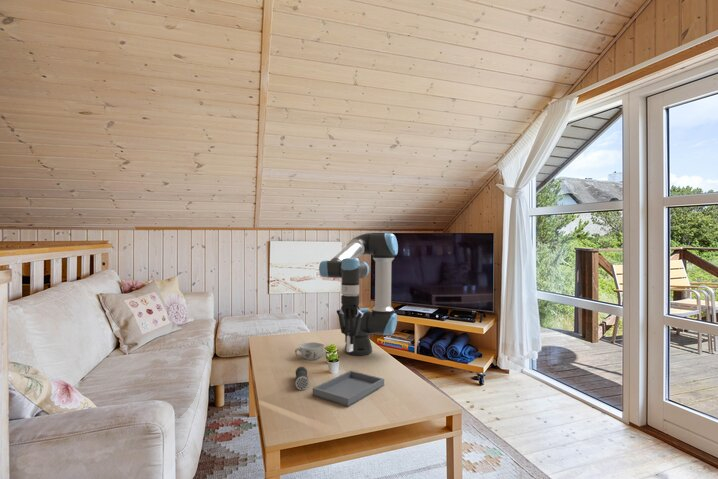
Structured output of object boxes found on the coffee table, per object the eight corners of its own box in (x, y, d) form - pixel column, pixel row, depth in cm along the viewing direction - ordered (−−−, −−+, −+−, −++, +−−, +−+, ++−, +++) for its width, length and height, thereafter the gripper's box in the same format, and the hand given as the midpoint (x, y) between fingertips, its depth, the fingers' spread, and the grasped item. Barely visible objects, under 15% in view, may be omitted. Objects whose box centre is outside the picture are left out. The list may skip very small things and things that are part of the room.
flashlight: (303, 379, 173) (293, 374, 173) (308, 368, 174) (298, 363, 173) (305, 391, 158) (293, 387, 157) (310, 379, 159) (298, 374, 158)
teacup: (321, 355, 206) (321, 341, 206) (325, 362, 194) (326, 347, 194) (293, 358, 202) (293, 343, 202) (296, 365, 190) (296, 349, 190)
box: (350, 377, 174) (350, 370, 174) (384, 385, 164) (384, 378, 164) (312, 395, 153) (312, 388, 153) (348, 406, 142) (348, 398, 142)
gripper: (332, 294, 159) (332, 350, 159) (357, 297, 152) (357, 356, 152) (343, 292, 165) (342, 346, 165) (368, 295, 158) (367, 351, 158)
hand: (349, 351), depth 158 cm, fingers closed
